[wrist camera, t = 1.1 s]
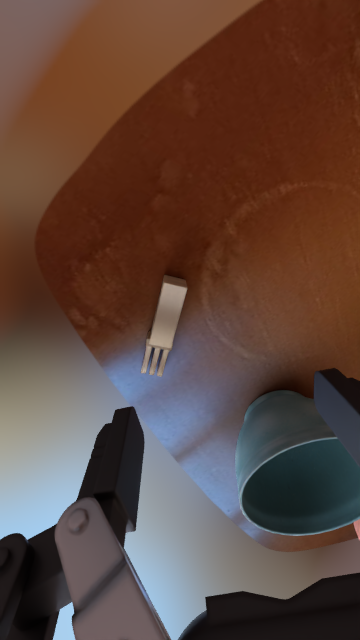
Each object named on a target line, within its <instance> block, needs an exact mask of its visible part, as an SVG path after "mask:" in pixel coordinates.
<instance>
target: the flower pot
mask: <svg viewBox="0 0 360 640" xmlns="http://www.w3.org/2000/svg"><path fill="white" fill-rule="evenodd" d="M235 467H236V477H237V483H238V497H239V502H240V507H241V510H242V512H243V514H244V516H245V517H246V518H247V519H248V520H249V521H250V522H251V523H252V524H254V525H255V526H257V527H259V528H261V529H263V530H265V531H268V532H272V533H276V534H283V535H291V536H300V535H312V534H318V533H322V532H327V531H331V530H335V529H338V528H341V527H343V526H346V525H349V524H351V523H353V522H355V521H357V520H359V519H360V467H359V466H358V465H357V463H356V462H355V461H354V459H353V458H352V457H351V455H350V454H349V453H348V451H347V450H346V449H345V447H344V446H343V445H342V443H341V442H340V441H339V439H338V438H337V437H336V435H335V434H334V433H333V431H332V430H331V429H330V427H329V426H328V425H327V423H326V422H325V421H324V419H323V418H322V417H321V415H320V414H319V412H318V411H317V409H316V406H315V403H314V399H311V398H307V397H304V396H303V395H301V394H299V393H297V392H294V391H289V390H279V391H273V392H270V393H267V394H264V395H262V396H261V397H259V398H257V399H256V400H255V401H254V402H253V403H252V404H251V405H250V406H249V407H248V409H247V411H246V413H245V418H244V424H243V426H242V428H241V431H240V433H239V437H238V441H237V446H236V456H235Z"/></svg>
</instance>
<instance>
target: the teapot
mask: <svg viewBox="0 0 360 640" xmlns="http://www.w3.org/2000/svg"><path fill="white" fill-rule="evenodd" d="M354 526H355V530H356V532H357V535H358V538H359V540H360V519H359V520H357V521H355V522H354Z"/></svg>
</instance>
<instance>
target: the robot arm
mask: <svg viewBox="0 0 360 640" xmlns="http://www.w3.org/2000/svg"><path fill="white" fill-rule="evenodd" d="M314 403H315V406H316V409H317V411H318V412H319V414H320V415H321V417H322V418H323V419H324V421H325V422H326V423H327V425H328V426H329V427H330V429H331V430H332V431H333V433H334V434H335V435H336V437H337V438H338V439H339V441H340V442H341V443H342V445H343V446H344V447H345V449H346V450H347V451H348V453H349V454H350V455H351V457H352V458H353V459H354V461H355V462H356V463H357V465H358V466H359V467H360V381H358V380H356V379H354V378H346V377H345V376H344V375H343V374H342V373H341V372H340V371H339V370H337V369H336V368H331V369H326V370H320V371H316V372H315V374H314ZM143 453H144V434H143V430H142V427H141V425H140V422H139V419H138V416H137V414H136V411H135V409H134V407H133V406H132V407H126V408H122V409H117V410H115V413H114V416H113V420H112V423H108V424H105V425H104V427H103V428H102V429H101V431H100V432H99V434H98V435H97V438H96V441H95V444H94V449H93V451H92V454H91V459H90V460H89V463H88V466H87V470H86V473H85V476H84V479H83V482H82V486H81V488H80V492H79V495H78V498H77V500H76V502H74V503H73V504H71V505H70V506H69V507H68V508H67V509H66V510H65V511H64V513H63V514H62V516H61V517H60V519H59V521H58V523H57V524H56V525H54V526H52V527H51V528H49V529H47V530H45V531H43V532H41V533H39V534H38V535H36V536H34V537H32V538H30V539H28V540H27V539H26V538H25V537H24V536H23V535H22V534H20V533H14V534H10V535H8V536H6V537H4V538H2V539H1V540H0V640H53V636H54V632H55V628H56V624H57V619H58V615H59V611H60V609H61V608H63V607H64V606H66V605H67V604H69V603H71V602H73V606H74V614H73V616H72V626H73V630H74V635H75V639H76V640H171V639H170V636H169V635H168V633H167V631H166V629H165V627H164V625H163V623H162V621H161V619H160V617H159V615H158V613H157V612H156V610H155V608H154V606H153V604H152V602H151V600H150V598H149V596H148V594H147V593H146V590H145V588H144V586H143V585H142V582H141V580H140V579H139V577H138V575H137V573H136V571H135V569H134V567H133V565H132V563H131V561H130V559H129V557H128V555H127V553H126V551H125V549H124V541H125V533H127V532H132V531H135V530H136V521H137V511H138V501H139V492H140V482H141V473H142V463H143ZM205 598H206V608H207V610H206V611H204V612H203V613H201V614H200V615H199V616H197V617H196V618H195V619H194V620H193V621H192V622H191V623H190V624H189V625H188V626H187V628H186V629H185V630H184V631H183V633H182V634H181V636H180V637H179V639H178V640H360V573H355V574H348V575H342V576H336V577H329V578H323V579H321V580H319V581H318V582H316V583H314V584H312V585H311V586H309V587H308V588H306V589H304V590H303V591H301V592H299V593H298V594H296V595H295V596H293V597H291V598H290V599H286V600H284V599H278V598H273V597H268V596H264V595H258V594H254V593H249V592H244V591H241V592H234V593H228V594H222V595H215V596H209V597H205Z"/></svg>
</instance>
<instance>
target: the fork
mask: <svg viewBox="0 0 360 640" xmlns="http://www.w3.org/2000/svg"><path fill="white" fill-rule="evenodd" d="M186 292H187V284H186V280H184V279H180V278H176V277H172V276H168V275H164V278H163V282H162V286H161V290H160V295H159V299H158V303H157V307H156V312H155V316H154V320H153V324H152V329H151V331H148V335H147V340H146V351H145V355H144V359H143V364H142V369H141V373H146V370H147V366H148V362H149V358H150V354H151V350H152V347H154V352H153V356H152V360H151V364H150V370H149V374H150V375H154V372H155V369H156V365H157V361H158V357H159V353H160V349H163V350H162V354H161V357H160V361H159V365H158V370H157V376H162V374H163V370H164V367H165V363H166V360H167V356H168V352H169V351H171V350H172V346H173V339H174V335H175V331H176V328H177V324H178V321H179V317H180V313H181V310H182V306H183V303H184V299H185V295H186Z"/></svg>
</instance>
